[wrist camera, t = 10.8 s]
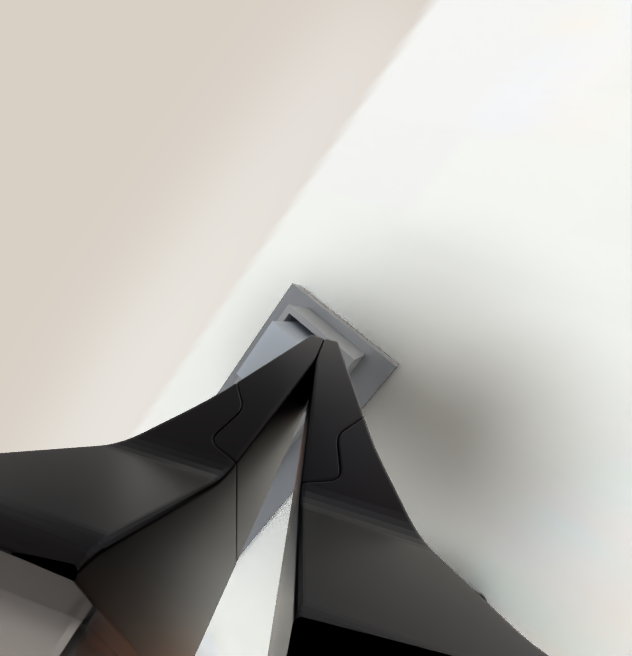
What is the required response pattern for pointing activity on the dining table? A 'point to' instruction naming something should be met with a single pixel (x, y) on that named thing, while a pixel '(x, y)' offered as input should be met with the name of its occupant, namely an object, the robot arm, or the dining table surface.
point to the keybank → (366, 377)
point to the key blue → (274, 344)
